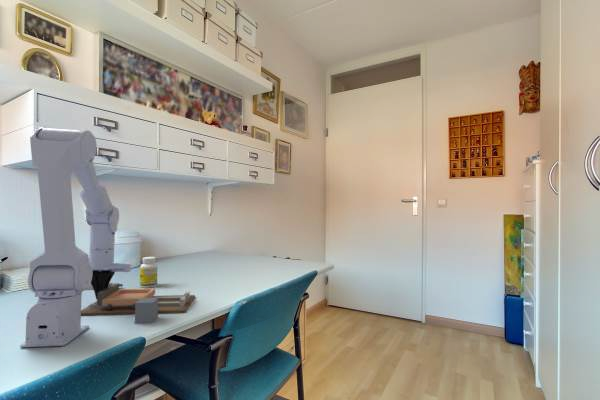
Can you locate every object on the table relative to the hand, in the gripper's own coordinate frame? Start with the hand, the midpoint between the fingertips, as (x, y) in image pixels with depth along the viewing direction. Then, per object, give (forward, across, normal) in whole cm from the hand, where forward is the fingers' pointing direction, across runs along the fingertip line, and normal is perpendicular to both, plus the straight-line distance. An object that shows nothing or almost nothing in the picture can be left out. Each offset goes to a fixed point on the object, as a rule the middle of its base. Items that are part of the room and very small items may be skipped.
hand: (100, 298), depth 84 cm
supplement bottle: (+2, -6, -21) cm, 22 cm away
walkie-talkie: (+3, +12, -22) cm, 25 cm away
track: (+2, -11, 0) cm, 11 cm away
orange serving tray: (+2, -8, 0) cm, 8 cm away
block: (+2, -16, +12) cm, 20 cm away
